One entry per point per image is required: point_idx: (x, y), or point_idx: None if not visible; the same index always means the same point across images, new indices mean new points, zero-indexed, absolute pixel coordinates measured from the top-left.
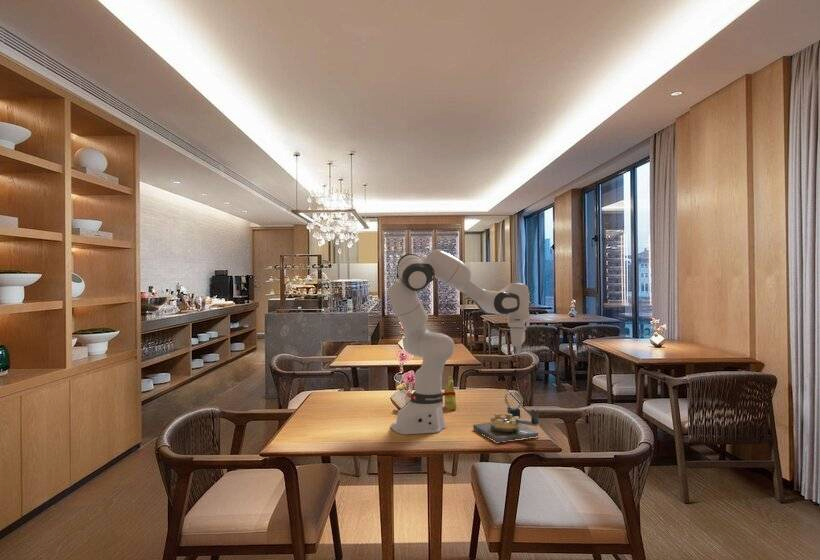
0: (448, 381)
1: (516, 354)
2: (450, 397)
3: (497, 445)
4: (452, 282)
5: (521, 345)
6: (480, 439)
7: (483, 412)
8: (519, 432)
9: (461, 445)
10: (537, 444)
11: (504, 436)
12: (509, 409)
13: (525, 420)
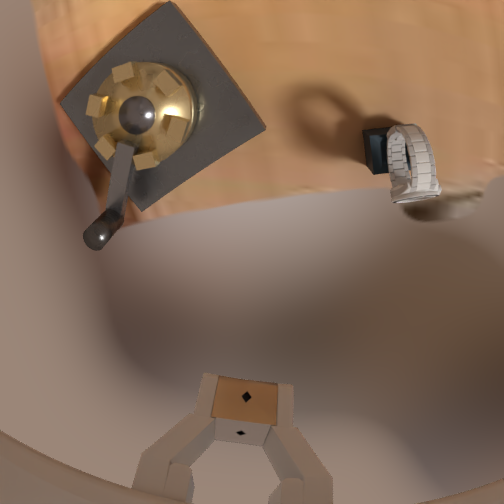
0: None
1: (204, 374)
2: None
3: None
4: None
5: (269, 499)
6: (89, 48)
7: (413, 37)
8: None
9: (42, 20)
10: (98, 201)
11: (78, 119)
12: (383, 134)
13: (116, 190)
